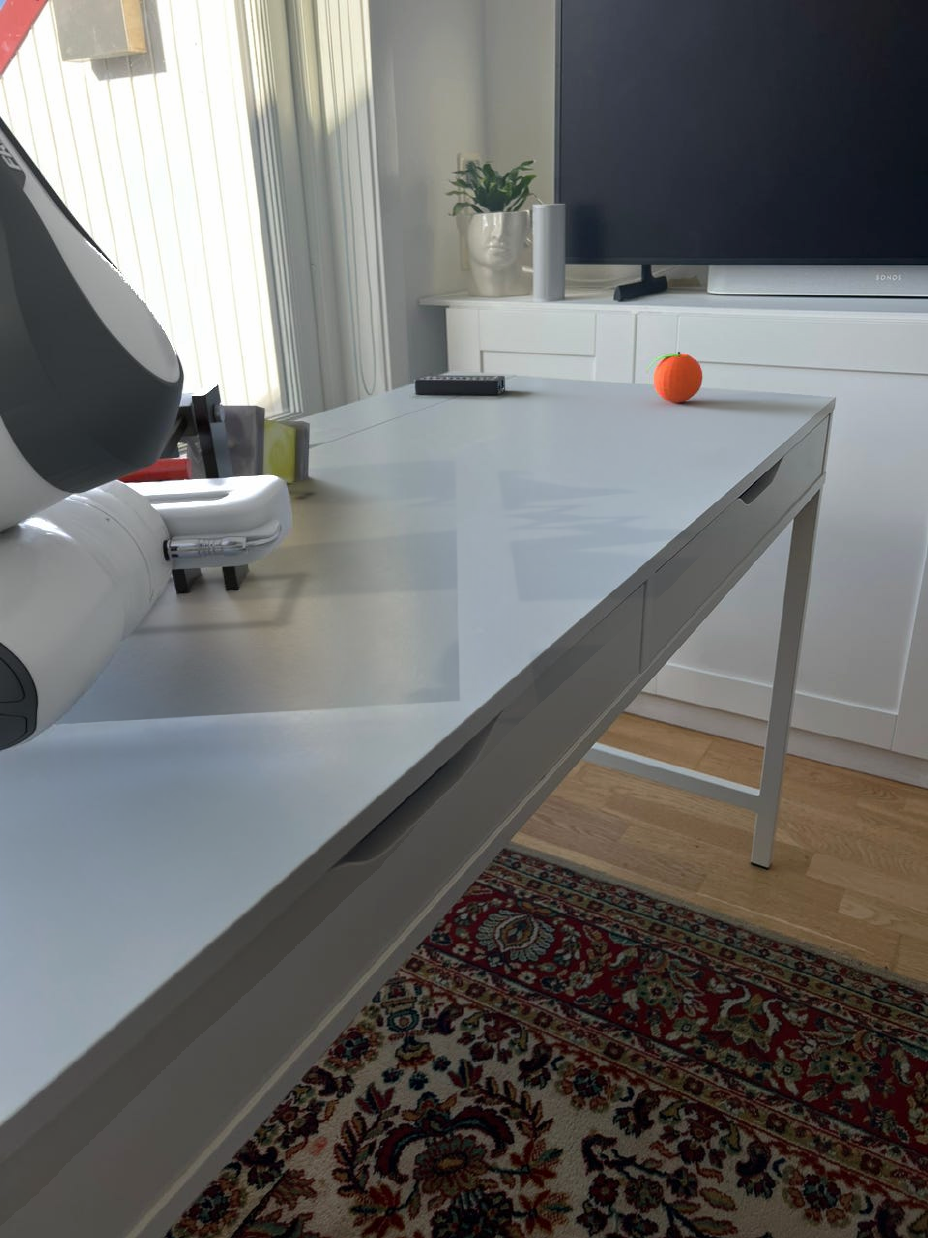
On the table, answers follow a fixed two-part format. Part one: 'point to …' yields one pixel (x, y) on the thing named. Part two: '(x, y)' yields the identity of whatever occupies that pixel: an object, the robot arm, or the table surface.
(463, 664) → the table surface
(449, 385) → the multiport hub
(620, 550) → the table surface
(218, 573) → the table surface
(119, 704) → the table surface
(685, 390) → the clementine
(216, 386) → the switch bracket
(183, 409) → the switch lever
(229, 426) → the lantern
